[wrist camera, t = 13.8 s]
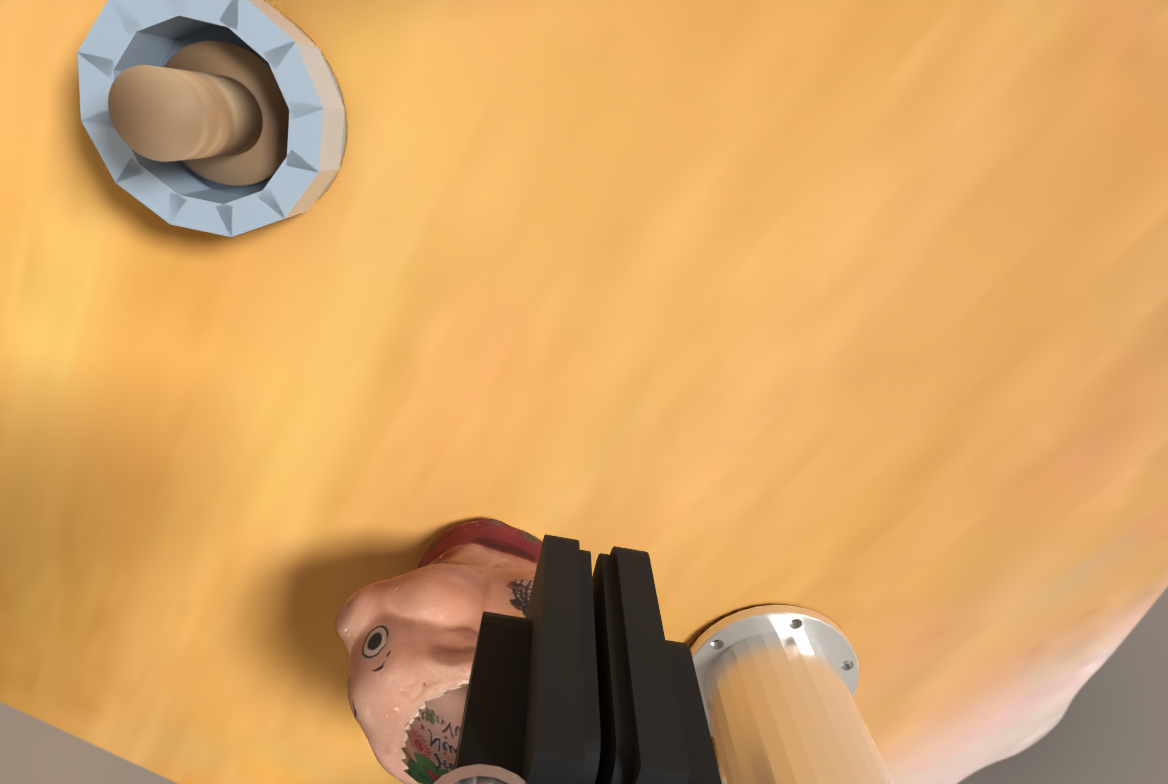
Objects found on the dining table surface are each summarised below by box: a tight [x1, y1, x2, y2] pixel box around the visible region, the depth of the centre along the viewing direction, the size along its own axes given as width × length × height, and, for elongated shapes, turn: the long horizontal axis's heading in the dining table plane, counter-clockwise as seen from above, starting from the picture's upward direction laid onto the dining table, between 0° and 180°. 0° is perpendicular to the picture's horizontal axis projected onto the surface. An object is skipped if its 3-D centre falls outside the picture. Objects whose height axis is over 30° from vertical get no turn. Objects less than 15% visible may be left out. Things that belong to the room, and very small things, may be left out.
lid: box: [108, 41, 289, 186], centre depth 31 cm, size 6×6×7 cm
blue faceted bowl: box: [77, 0, 347, 237], centre depth 33 cm, size 11×11×4 cm
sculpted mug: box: [335, 519, 543, 784], centre depth 39 cm, size 20×12×14 cm, turn 63°
